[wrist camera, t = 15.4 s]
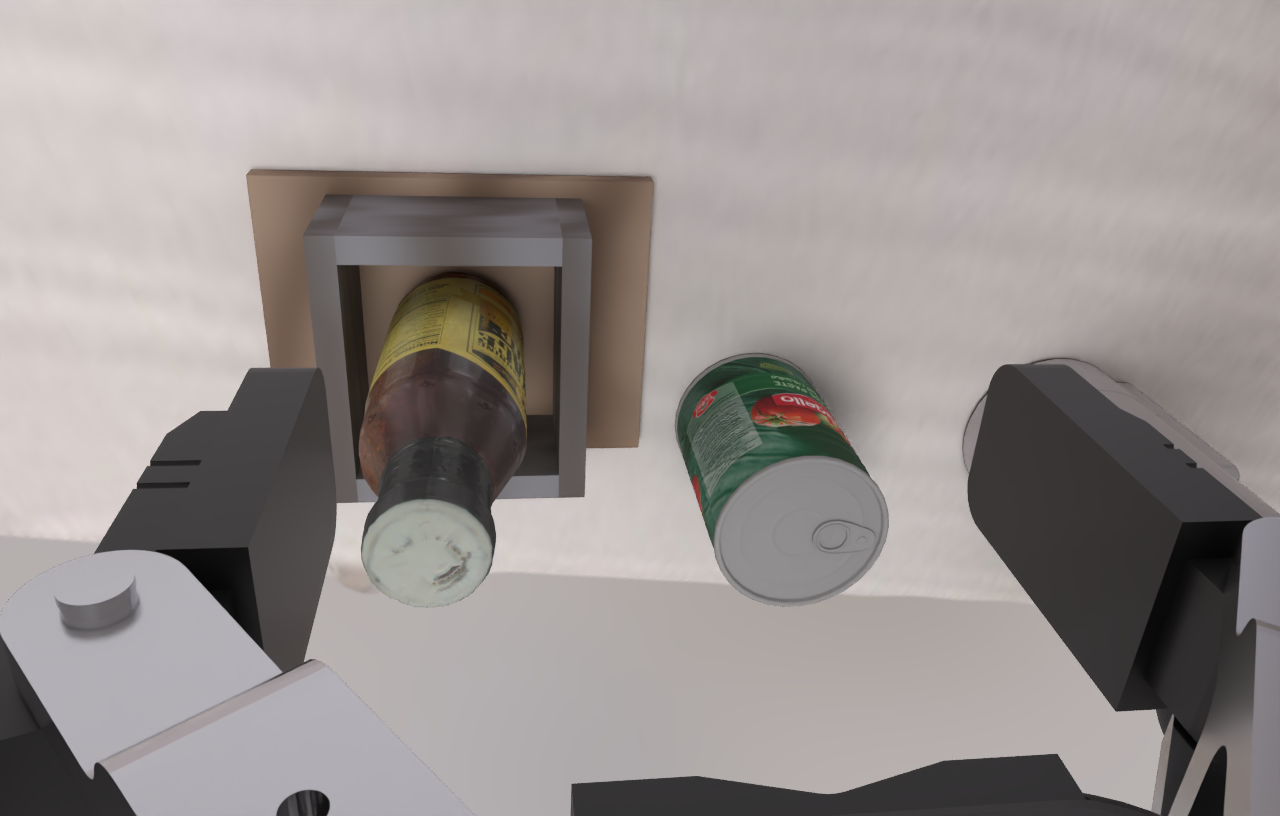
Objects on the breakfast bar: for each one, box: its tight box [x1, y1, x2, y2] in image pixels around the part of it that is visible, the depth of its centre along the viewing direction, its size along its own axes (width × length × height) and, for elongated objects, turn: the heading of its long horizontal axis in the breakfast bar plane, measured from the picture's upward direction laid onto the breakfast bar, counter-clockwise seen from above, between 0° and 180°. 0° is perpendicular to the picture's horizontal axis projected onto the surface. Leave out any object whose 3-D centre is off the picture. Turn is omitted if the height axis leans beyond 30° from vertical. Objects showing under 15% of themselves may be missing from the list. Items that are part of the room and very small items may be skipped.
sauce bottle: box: [359, 273, 527, 608], centre depth 40 cm, size 6×6×20 cm
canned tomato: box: [675, 354, 889, 607], centre depth 49 cm, size 8×8×11 cm
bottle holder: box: [246, 170, 653, 503], centre depth 46 cm, size 18×14×7 cm
